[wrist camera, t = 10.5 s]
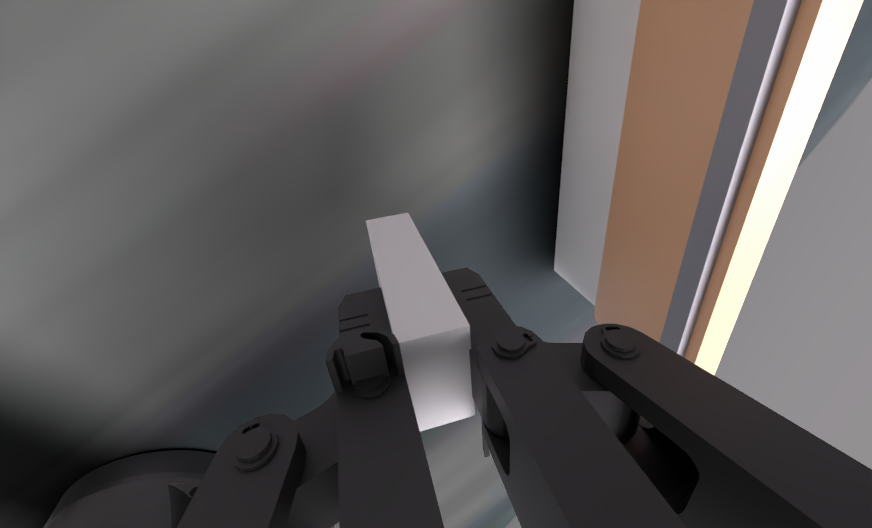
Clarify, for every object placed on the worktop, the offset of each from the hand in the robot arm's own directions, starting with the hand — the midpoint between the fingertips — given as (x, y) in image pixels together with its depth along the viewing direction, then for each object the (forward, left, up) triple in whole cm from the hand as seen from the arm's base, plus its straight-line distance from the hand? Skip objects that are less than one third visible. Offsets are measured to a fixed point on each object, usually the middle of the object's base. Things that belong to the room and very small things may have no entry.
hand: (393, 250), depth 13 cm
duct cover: (+12, 0, 0) cm, 12 cm away
